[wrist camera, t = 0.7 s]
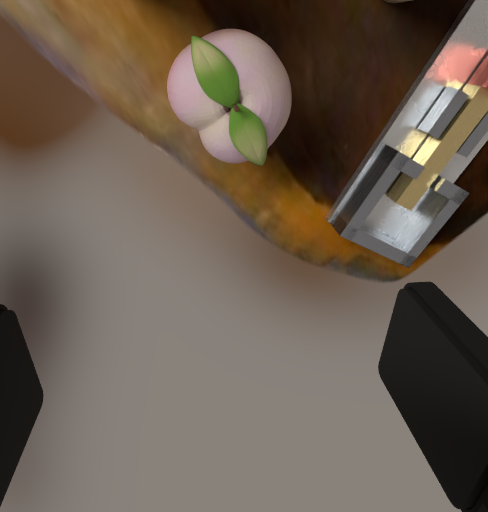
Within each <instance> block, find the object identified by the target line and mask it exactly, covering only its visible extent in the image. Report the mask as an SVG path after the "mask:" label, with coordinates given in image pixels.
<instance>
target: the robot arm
mask: <svg viewBox="0 0 488 512" xmlns="http://www.w3.org/2000/svg"><path fill="white" fill-rule="evenodd" d="M378 368H379V374H380V377H381V379H382V381H383V383H384V385H385V386H386V388H387V390H388V391H389V394H390V395H391V397H392V399H393V400H394V402H395V404H396V406H397V408H398V410H399V411H400V413H401V415H402V417H403V418H404V420H405V422H406V424H407V426H408V427H409V429H410V431H411V433H412V434H413V436H414V438H415V440H416V442H417V443H418V445H419V447H420V449H421V450H422V452H423V454H424V456H425V458H426V459H427V461H428V463H429V465H430V466H431V468H432V470H433V472H434V474H435V475H436V477H437V479H438V481H439V483H440V484H441V486H442V488H443V490H444V492H445V493H446V495H447V497H448V499H449V500H450V502H451V503H452V505H453V506H454V507H456V508H458V509H461V511H462V512H488V337H487V336H486V335H485V334H484V333H483V332H482V331H481V330H480V329H479V328H478V327H477V326H476V325H475V324H474V323H473V322H472V321H471V320H470V319H469V318H468V317H467V316H466V315H465V314H464V313H463V312H462V311H461V310H460V309H459V308H458V307H457V306H456V305H455V304H454V303H453V302H452V301H451V300H450V299H449V298H448V297H447V296H446V295H445V294H444V293H443V292H442V291H441V290H440V289H439V288H438V287H437V286H436V285H435V284H434V283H432V282H415V283H407V284H406V285H405V287H404V289H401V290H399V292H398V295H397V298H396V302H395V306H394V309H393V313H392V317H391V320H390V324H389V328H388V331H387V335H386V339H385V342H384V346H383V350H382V353H381V357H380V361H379V365H378ZM42 402H43V390H42V387H41V384H40V381H39V378H38V375H37V373H36V370H35V367H34V364H33V361H32V359H31V356H30V353H29V350H28V347H27V345H26V342H25V339H24V336H23V334H22V330H21V328H20V325H19V322H18V319H17V316H16V314H15V312H14V311H12V310H8V309H7V307H5V306H4V305H2V304H0V506H1V504H2V501H3V499H4V496H5V494H6V491H7V489H8V486H9V484H10V482H11V479H12V477H13V474H14V472H15V470H16V467H17V465H18V462H19V460H20V457H21V455H22V452H23V450H24V447H25V445H26V443H27V440H28V438H29V435H30V433H31V431H32V428H33V426H34V423H35V421H36V419H37V416H38V414H39V411H40V409H41V406H42Z"/></svg>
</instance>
